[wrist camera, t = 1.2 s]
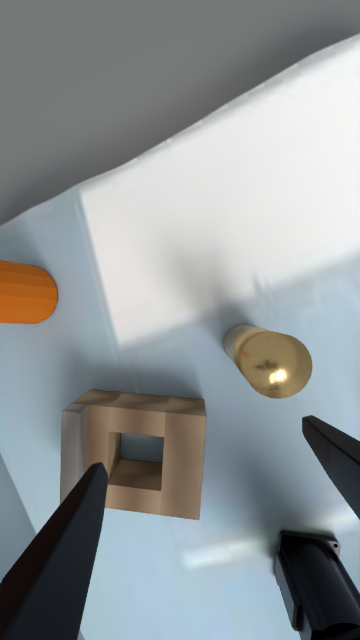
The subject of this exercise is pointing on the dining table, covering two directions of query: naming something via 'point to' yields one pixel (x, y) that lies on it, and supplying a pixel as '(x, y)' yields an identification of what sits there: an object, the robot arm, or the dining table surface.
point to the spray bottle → (25, 293)
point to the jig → (131, 475)
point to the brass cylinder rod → (269, 360)
